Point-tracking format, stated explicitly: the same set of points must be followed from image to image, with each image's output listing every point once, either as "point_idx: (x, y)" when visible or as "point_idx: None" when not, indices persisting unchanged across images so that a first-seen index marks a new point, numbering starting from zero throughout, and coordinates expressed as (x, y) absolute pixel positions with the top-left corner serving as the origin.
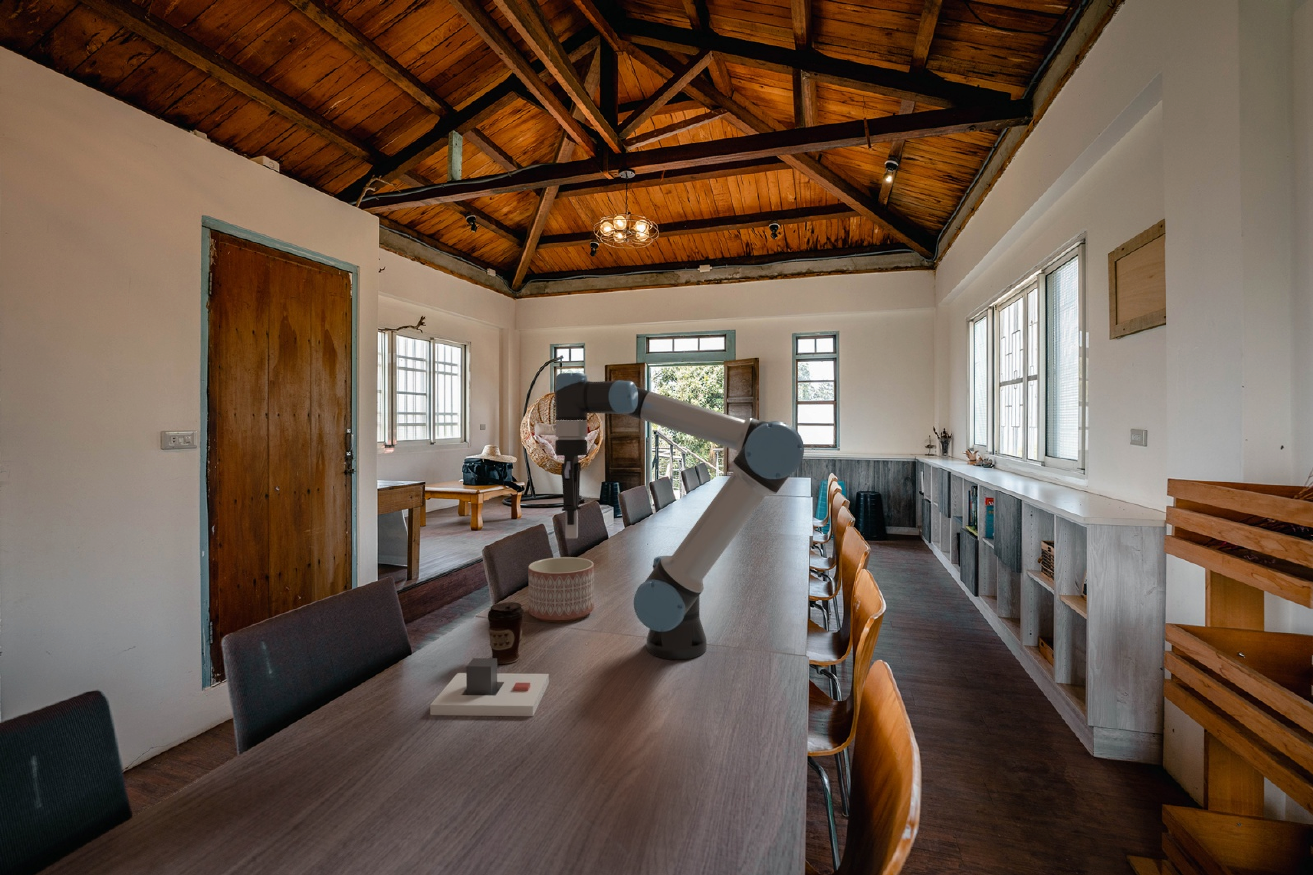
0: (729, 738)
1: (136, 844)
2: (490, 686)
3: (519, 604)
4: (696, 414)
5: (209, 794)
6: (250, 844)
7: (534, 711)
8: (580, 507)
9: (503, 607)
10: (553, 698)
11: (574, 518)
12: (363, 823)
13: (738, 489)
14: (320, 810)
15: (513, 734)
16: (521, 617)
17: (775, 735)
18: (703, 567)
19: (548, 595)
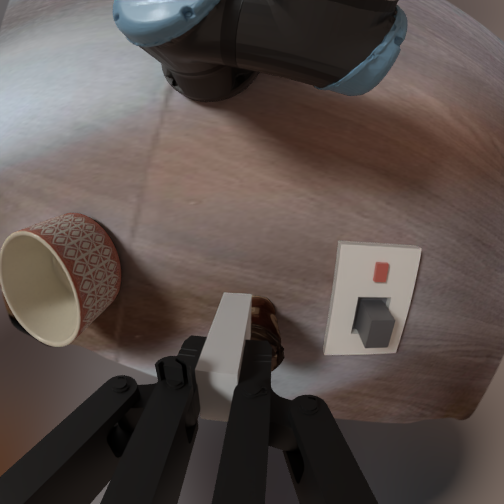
0: (451, 46)
1: (468, 409)
2: (387, 308)
3: None
4: None
5: (444, 412)
6: (491, 367)
7: (411, 245)
8: (178, 365)
9: None
10: (380, 227)
11: (242, 356)
12: (500, 324)
13: None
14: (481, 353)
15: (443, 258)
16: (255, 324)
17: (439, 8)
18: None
19: (102, 294)
